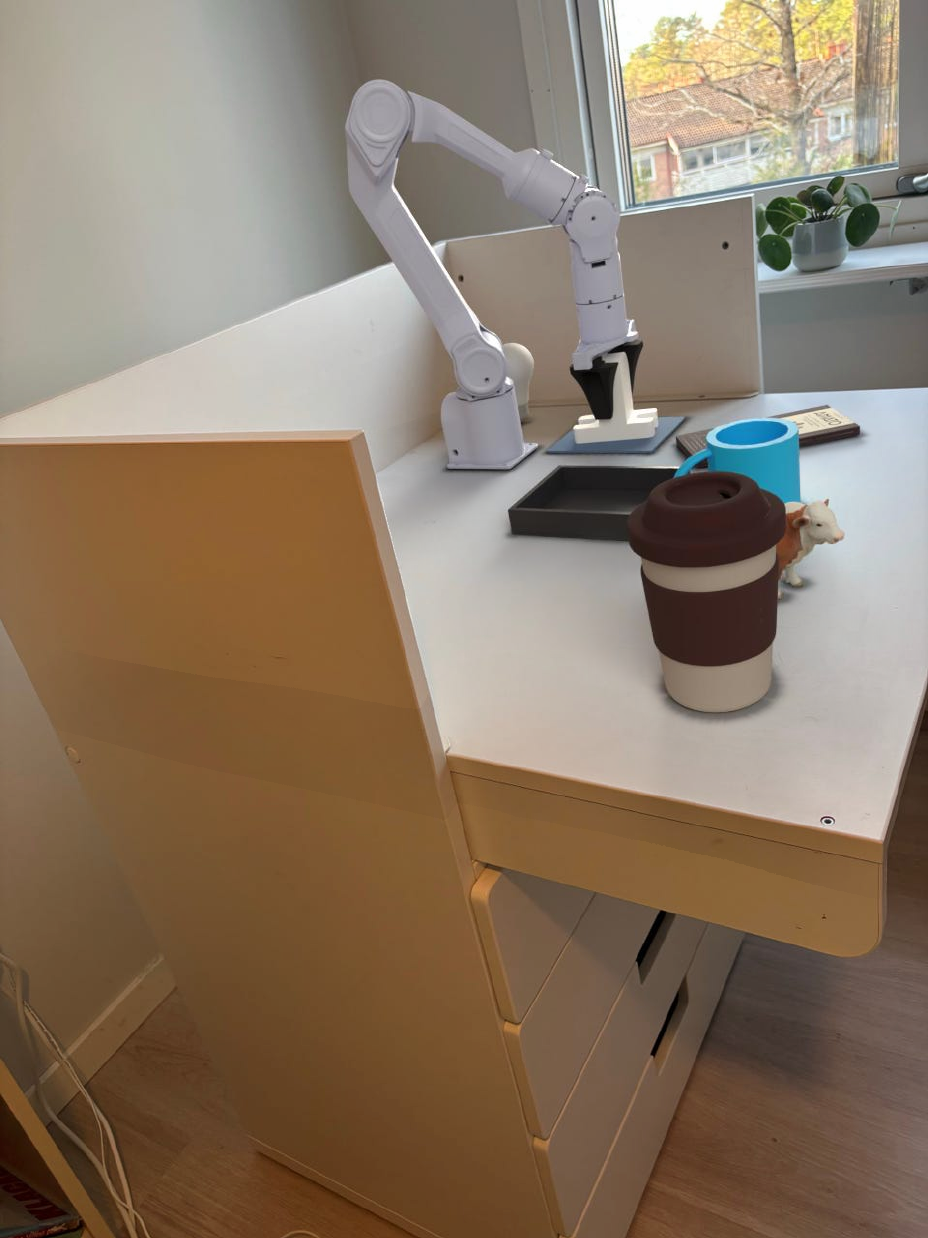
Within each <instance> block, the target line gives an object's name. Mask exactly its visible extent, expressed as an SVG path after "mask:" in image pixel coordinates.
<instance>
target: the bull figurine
mask: <svg viewBox="0 0 928 1238" xmlns="http://www.w3.org/2000/svg"><path fill="white" fill-rule="evenodd" d="M829 502H830V498H826V499H825V501H822V500H815V501H812V502H811V503H810V504H806V503H802V502H801V503H799V502H788V503H785V504H784V505H785V508H786V531H785V534H784V536H783V538H782V539H781V540H780V541H779V542H778V543H777V544H776V552H777V554H778V557H779V581H780V580H781V579H782V577H783V573H784V571H785V576H786V577H785V583H786V584H788V583H789V584H790V585H791V586H792V587H794V588H795V587H796V588H798V587H801V586H803V585H804V581H803V579H801V578H800V577H799V576H798V574H797V573H796V571H795V569H794V565H796V564H798V563H800V562H801V561H802V560H803V558H805V557H806V556H808V555H809V554H810V553H812V552H813V550H814V548H815V546H816V545H824V544H826V543H827V544H828V545H835V544H837V543H839V542H841V541H843V539H844V538H845V532H844V530H842V529H841V528H840V527H839V525H838V523H837V519H836V514H835V512H834V511H833V510H832V509H831V508H830V507H828V506H829ZM783 598H784V594H783V593H782V591H781V590H780V588H779V587H778V601H779V600H782V599H783Z"/></svg>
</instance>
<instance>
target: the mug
mask: <svg viewBox="0 0 928 1238" xmlns="http://www.w3.org/2000/svg"><path fill="white" fill-rule="evenodd" d="M714 428H715V429H713V430H712V431H710V432H709V433H708V435H707V437H706V445H707V449H704V450H701V451H699V452H697V453H696V454H694V455H693V456H691V457H689V458H688V457H687V459H685V461H684V462H682V463H681V465H680V466H679V468H678V470H677V472H676V473H675V475H674V477H673V478H675V477H678V476H682V475H686V474H687V473H688V472H689V470H690V471H691V470H692V469H693V468H694V467H695V465H696V464H697V463H699V462H700V461H702V460H704V459H705V458H708V466H707V470H708V471H728V472H734V473H739V474H743V475H746V476H748V477H750V478H752V479H753V480H754V481H756V483H757V484H758V486H759V488H761V489H764V490H767V491H769V492H771V493H773V494H775V495H777V496H778V497H779V498H780V499H781V500H782V501H783V503H784V504H785V503H788V502H799V503H802V502H801V501H802V500H801V498H802V497H801V473H800V472H801V468H800V463H801V462H800V447H799V429H798V426H797V425H796V424H795V423H793V422H791V421H789V420H784V419H779V418H766V417H755V418H754V417H753V418H746V419H740V420H739V419H738V420H735V421H731V422H728V423H724V424H721V425H719V426H717V427H714Z"/></svg>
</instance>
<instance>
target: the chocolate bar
mask: <svg viewBox="0 0 928 1238" xmlns="http://www.w3.org/2000/svg"><path fill="white" fill-rule="evenodd" d="M765 418H779V419H784V420H789V421H791V422H793V423H795V424H796V425H797V426H798V429H799V448H801V447H805V446H810V445H815V444H821V443H825V442H830V441H835V440H840V439H845V438H850V437H855V436H860V435H861V425H859V424H858V423H856V422H854V421H853V420H852V419H850V418H849V417H847V416H845V415H844V414H842V413H841V412H839V411H837V410H836V409H834V408H833V407H832V406H830V405H829V404H824V405H819V406H814V407H810V408H805V409H801V410H796V411H791V412H786V413H781V414H776V415H771V416H765ZM715 428H716V427H713V428H707V429H704V430H699V431H693V432H688V433H684V434H679V435H675V444H676V445H677V446H678V448H679V449H680V450H681V451H682V452H683V454H684V455H685V456H686V457H687V459H688V458H689V457H691V456H693V455H694V454H696V453H697V452H699V451H701V450H704V449H707V445H706V437H707V435H708V433H709V432H710V431H712V430H713V429H715ZM694 467H696V469H697V468H698V469H699V468H703V467H708V458H705V459H704V460H702V461H700V462H699V463H697V464H696V465H694Z"/></svg>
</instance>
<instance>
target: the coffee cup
mask: <svg viewBox="0 0 928 1238" xmlns="http://www.w3.org/2000/svg"><path fill="white" fill-rule="evenodd" d="M627 531H628V539H629V541H628V544H629V547H630V549H631V550H632V551H633V553H635V554H636V555H637V556H638V557H640V561H641V564H640V569H639V572H640V579H641V584H642V589H643V593H644V599H645V604H646V609H647V614H648V619H649V624H650V630H651V634H652V639H653V643H654V646H655V647H656V649H657V650H658V654H659V659H660V664H661V665H660V666H661V670H662V675H663V680H664V685H665V687H666V691H667V693H668V694H669V696H670V697H671V698H672V699H673V700H674V701H675V702H676V703H678V704H680V706H681V705H682V706H683V707H685V708H688V709H691V710H694V711H699V712H705V713H727V712H733V711H738V710H742V709H745V708H747V707H750V706H751V705H753V704H755V703H757V702H758V701H760V700H761V699H762V698H763V697H764V696H765V695H766V694H767V692H768V691H769V690H770V688H771V684H772V678H773V677H772V676H773V652H774V651H773V650H774V649H773V647H774V646H773V645H774V641H775V639H776V636H777V629H778V607H779V605H778V604H779V600H778V588H779V581H780V580H779V557H778V554H777V552H776V544H777V543H778V542H779V541H780V540H781V539H782V538H783V536H784V534H785V531H786V508H785V505H784V503H783V501H782V500H781V499H780V498H779V497H778V496H777V495H775V494H773V493H771V492H769V491H767V490H764V489H761V488H759V486H758V484H757V483H756V481H754V480H753V479H752V478H750V477H748V476H746V475H743V474H739V473H734V472H728V471H698V472H691V474H686V475H682V476H678V477H675V478H672V479H670V480H667V481H665V482H663V483H661V484H659V485H658V486H657V487H655V488H654V489H653V490H652V491H651V493H650V494H649V497H648V500H647V501H645V502H644V503H642V504H641V505H639V506H638V507H636V508H635V509H634V510H633V511H632V512H631V514H630V516H629V518H628V520H627Z"/></svg>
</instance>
